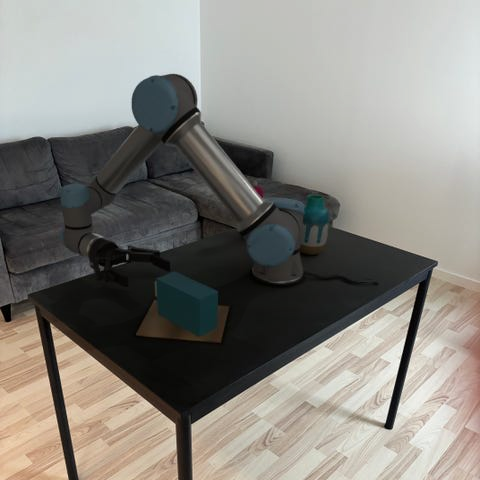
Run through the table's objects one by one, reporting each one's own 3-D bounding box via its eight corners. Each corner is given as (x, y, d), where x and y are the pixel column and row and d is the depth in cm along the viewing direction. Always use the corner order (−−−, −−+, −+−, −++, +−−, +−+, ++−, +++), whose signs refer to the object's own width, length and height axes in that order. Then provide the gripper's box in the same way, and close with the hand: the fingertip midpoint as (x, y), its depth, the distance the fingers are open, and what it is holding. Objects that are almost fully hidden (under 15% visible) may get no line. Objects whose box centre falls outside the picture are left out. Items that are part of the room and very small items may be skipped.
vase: (290, 246, 165) (296, 191, 155) (320, 247, 166) (328, 191, 156) (296, 259, 156) (302, 200, 146) (328, 259, 156) (336, 201, 147)
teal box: (217, 328, 116) (218, 291, 110) (199, 337, 112) (199, 299, 107) (168, 302, 125) (167, 267, 120) (150, 310, 122) (148, 274, 116)
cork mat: (229, 308, 125) (229, 306, 125) (220, 343, 111) (220, 341, 111) (154, 301, 127) (154, 300, 126) (136, 335, 112) (135, 333, 112)
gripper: (136, 251, 143) (185, 273, 132) (61, 275, 127) (108, 303, 115) (135, 227, 140) (184, 247, 128) (57, 249, 123) (105, 275, 111)
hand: (148, 274), depth 122 cm, fingers open, 13 cm apart
